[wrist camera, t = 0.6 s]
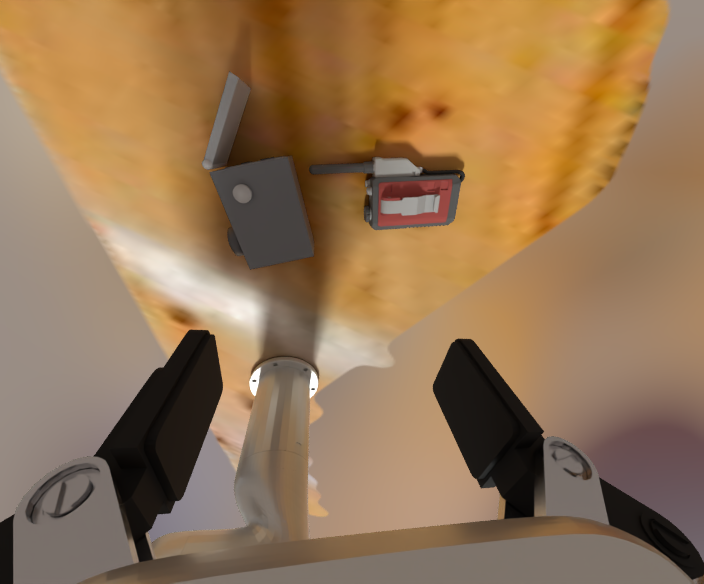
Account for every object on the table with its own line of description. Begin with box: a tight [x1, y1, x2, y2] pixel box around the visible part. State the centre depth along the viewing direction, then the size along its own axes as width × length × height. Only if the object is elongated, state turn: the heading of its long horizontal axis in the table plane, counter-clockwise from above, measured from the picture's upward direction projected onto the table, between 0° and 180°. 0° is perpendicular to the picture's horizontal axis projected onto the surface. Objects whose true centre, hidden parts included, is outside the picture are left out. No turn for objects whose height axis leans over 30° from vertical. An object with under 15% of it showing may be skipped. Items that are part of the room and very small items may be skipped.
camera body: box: [210, 156, 314, 269], centre depth 30 cm, size 11×10×6 cm
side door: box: [202, 71, 251, 170], centre depth 26 cm, size 1×9×5 cm, turn 150°
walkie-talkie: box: [309, 157, 465, 230], centre depth 32 cm, size 9×4×20 cm
